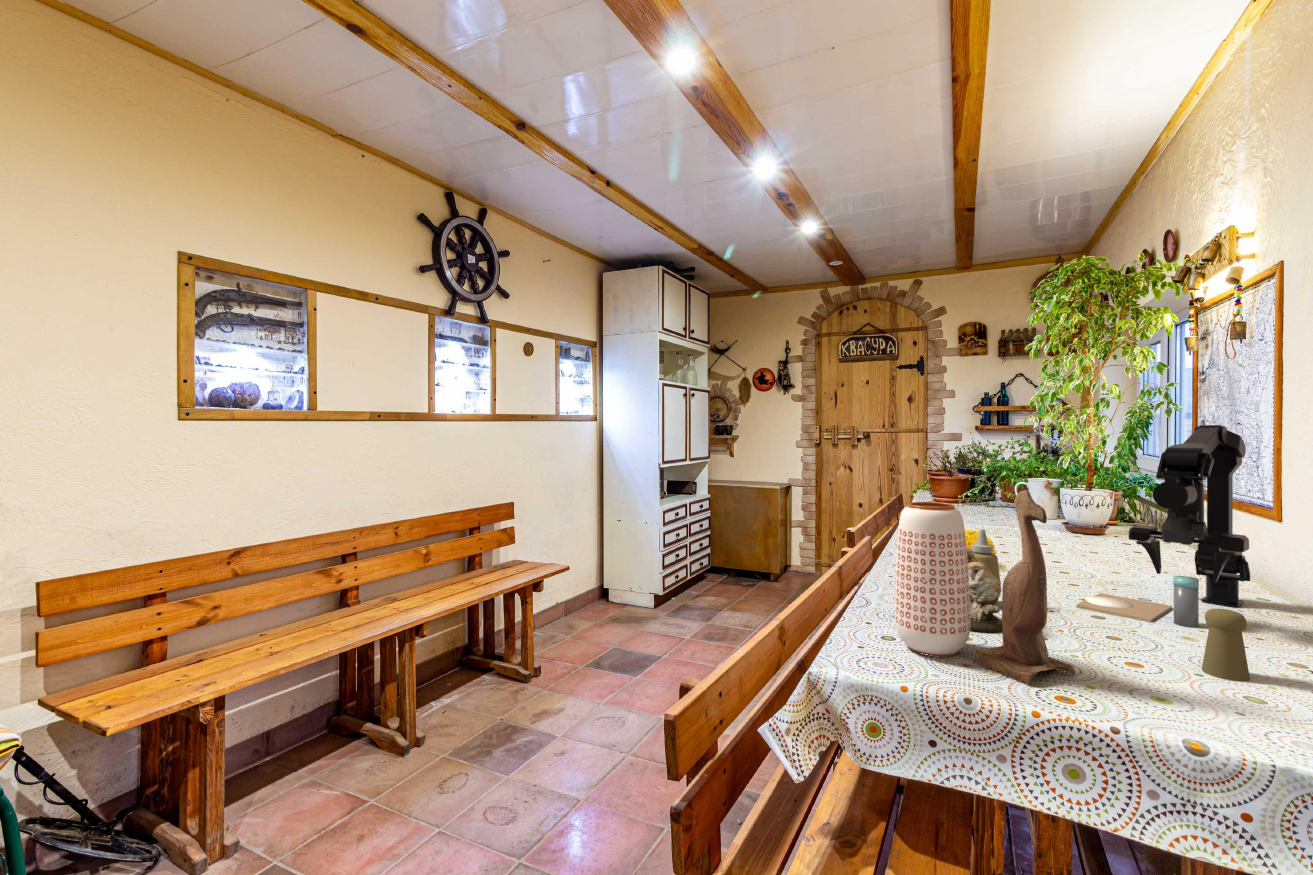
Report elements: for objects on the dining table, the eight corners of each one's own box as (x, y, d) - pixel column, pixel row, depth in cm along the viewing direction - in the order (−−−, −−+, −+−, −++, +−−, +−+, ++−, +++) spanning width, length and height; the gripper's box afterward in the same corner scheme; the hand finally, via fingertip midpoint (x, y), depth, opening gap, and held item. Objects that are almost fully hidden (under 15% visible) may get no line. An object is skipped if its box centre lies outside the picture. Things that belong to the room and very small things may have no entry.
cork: (1260, 682, 98) (1260, 616, 98) (1217, 679, 100) (1217, 614, 100) (1232, 668, 104) (1232, 605, 104) (1192, 665, 106) (1192, 604, 105)
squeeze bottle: (997, 600, 147) (997, 527, 146) (1005, 609, 139) (1004, 533, 139) (961, 597, 149) (960, 526, 149) (966, 606, 142) (966, 531, 142)
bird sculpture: (1034, 690, 97) (1040, 496, 96) (971, 662, 108) (976, 488, 107) (1077, 678, 102) (1083, 493, 101) (1012, 653, 113) (1017, 486, 111)
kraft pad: (1098, 594, 150) (1098, 592, 150) (1172, 608, 139) (1172, 605, 139) (1073, 606, 141) (1073, 603, 141) (1150, 622, 129) (1150, 618, 129)
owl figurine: (907, 616, 136) (907, 542, 136) (935, 607, 142) (934, 536, 142) (989, 637, 121) (988, 554, 121) (1015, 626, 128) (1015, 547, 128)
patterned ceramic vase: (939, 667, 106) (938, 510, 106) (880, 643, 118) (879, 503, 118) (986, 653, 112) (985, 505, 112) (925, 632, 124) (924, 498, 124)
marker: (1176, 620, 130) (1176, 574, 130) (1201, 624, 127) (1201, 578, 127) (1170, 623, 128) (1170, 577, 128) (1196, 628, 125) (1196, 581, 125)
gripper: (1120, 504, 130) (1120, 575, 130) (1237, 513, 115) (1237, 593, 115) (1136, 500, 137) (1136, 567, 137) (1249, 508, 122) (1249, 583, 122)
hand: (1186, 577), depth 127 cm, fingers open, 9 cm apart
